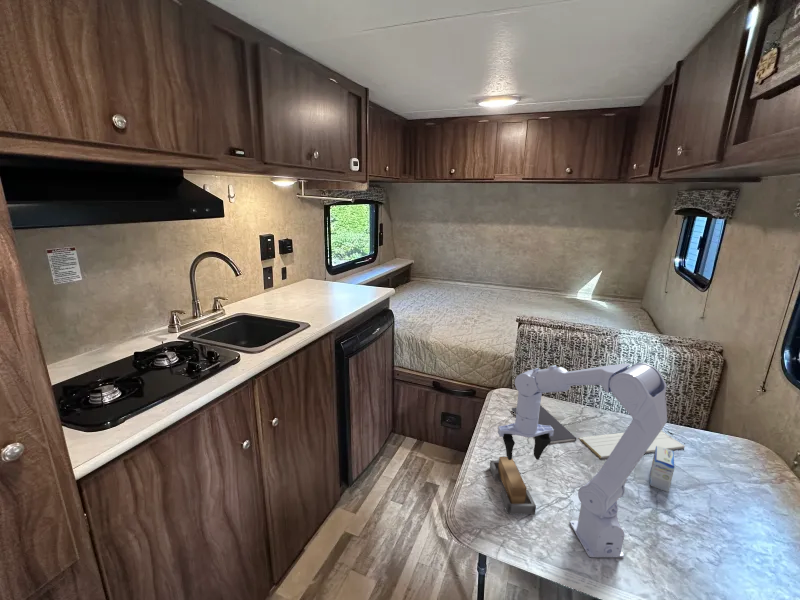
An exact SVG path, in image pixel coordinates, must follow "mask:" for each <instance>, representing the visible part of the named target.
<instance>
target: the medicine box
mask: <svg viewBox="0 0 800 600" xmlns="http://www.w3.org/2000/svg"><path fill="white" fill-rule="evenodd" d="M675 468H676V467H675V451H674V450H669V449H666V448H663V447H659V446H656V449H655V452H653V458H652V461H651V467H650V475H649V486H651V487H653V488H656V489H658V490H661V491H664V492H667V493H669V492H670V487H671V485H672V480H673V475H674V471H675Z"/></svg>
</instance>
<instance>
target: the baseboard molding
mask: <svg viewBox="0 0 800 600" xmlns="http://www.w3.org/2000/svg"><path fill="white" fill-rule="evenodd" d="M665 432H666V433H665ZM665 432H664V430H663V429H662V430H661V431H660V433H659V434H658V436H657V437H656V438H655V440H654V441H653V443H652V444H651V445H650V447H649V448H648V450H647V451H646V452H645V454H647V453H655V449H656V446H659V447H663V448H666V449H669V450H671V451H674V450H679V449H680V450H681V449H685V447H686V446H685V445H686V443H685V442H683V441H682V440H680V439H678V438H677V437H676V436H674V434H673V433H672V432H671V431H669V430H665ZM624 433H625V432H618V433H608V434H607V433H606V434H599V435H592V436H591V435H590V436H584V437H578V439H579V440H580V441H581V442H582V443H583V444H584V445H585V446H586V447H587V448H588V449H589V450H591V451H592V452H593V453H594V455H596V456H597V457H599V459H600V460H601V459H608V457H609V456H610V454H611V452H612V451H613V449H614V448H615V446H616V445H617V443H618V442H619V440H620V439H621V437H622V436H623V434H624ZM667 433H668V434H667ZM672 436H673V437H674V438H673V437H672ZM676 439H677V440H676ZM679 441H680V442H682V443H680V442H679Z"/></svg>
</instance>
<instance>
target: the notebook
mask: <svg viewBox="0 0 800 600" xmlns="http://www.w3.org/2000/svg"><path fill="white" fill-rule="evenodd" d="M516 410H517V407H512V408H511V412H512V411H513V412H514V413H513V412H512V413H513V415H514V416H515V415H516ZM538 424H540V425H545V426H551V427H552V428H553V429H554V433H553V436H549V438H550V439H551V442H550V444H557V443H563V442H564V443H565V442H572V441H573V442H574V441H577V437H576V436H575V435H574V434H573V433H571V432H570V431H569V430H568V429H567V428H566V427H565V426H564V425H563V424H562V423H561V422H559V420H557V419H556V417H554V416H553V415H552V414H551V413H550V412H549V411H548V410H547V409H545V408H544V407H543V406H542V405H541V404H540V411H539V420H538Z"/></svg>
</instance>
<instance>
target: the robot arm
mask: <svg viewBox="0 0 800 600" xmlns="http://www.w3.org/2000/svg"><path fill="white" fill-rule="evenodd" d="M514 385H515V388H516V390H517V391H518V394H517V402H516V408H517V410H516V416H515V421H514V423H508V424H505V425H498V426H497V434H498V435H499V437H501V438H502V440H503V442H504V446H505V450H506V451H505V452H506V453H505V454H506V457H508V460H511V459H513V450H514V446H515V444H516V442H515V440H514V436H519V437H523V438H524V437H525V438H534V446H533V447H534V448H533V456H534V458H535V461H538V460H539V461H540V458H541V456H542V454H543V453H544V450H545V449H546V448H547V447H548V446H549V445H550V444H551V443H550V442H551V439H550V438H549V436H553V433H554V429H553V428H552V427H551V426H545V425H540V424H538V420H539V411H540V405H541V403H542V395H543V394H544V393H547V394H548V393H557V392H558V393H559V392H561V393H562V392H567V391H569V389H570V388H571V387H572V386H601V388H602V389H603V390H604V391H605V392H606V393H607V394H609V393H612V395H613V396H614V398H615V399H616V400H617V402H619V404H620V405H621V406H622V407H623V408H624V409H625V410H626V412H627V413H628V414H629V415H630V416H631V418H632V420H631V422H630V423H629V425H628V426H627V428H626V430H625V431H624V432H623V433H624V434H623V436H622V437H621V439H620V440H619V442H618V443H617V445H616V446H615V448H614V449H613V451H612V452H611V454H610V456H609V457H608V458H606V460H605V462H604V464H603V465H602V466H601V468H600V469H599V470H598V471H597V473H596V474H595V475H594V476H593V477H592V478H591V479H590V480H589V481H588V482H587V483H585V484H584V485H581V486H580V487H579V489H578V491H577V496H578V500H579V502H580V508H579V513H578V519H577V520H576V519H575V520H572V519H571V520H569V525H570V526H571V528H572V529H573V531H574V533H575V535H576V537H577V539H578V540H579V541H580V543H581V545H582V547H583V549H584V551H585V552H586V554H587V556H588V557H589V558H624V557H625V553H623V550H622V549H623V544H624V539H625V532H624V530H623V528H622V526H621V523H620V521H619V518H618V500H619V499H620V498H622V497H623V496H624V495H625V492H626V490H625V489H626V488H625V486H626V483H627V481H628V478H629V476H630V475H631V473H632V472H633V470H634V469H635V468H636V467H637V465H638V464H639V462H640V461H641V460H642V458H643V456H644V455H645V454H646V453H645V452H646V451H647V450H648V448H649V447H650V445H651V444H652V443H653V441H654V440H655V438H656V437H657V436H658V434H659V433H660V431H661V430H662V431H663V429H664V427H665V426H666V424H667V421H668V413H667V401H666V392H667V391H666V390H667V387H668V385H667V383H666V381H665V380H664V377H663V376H662V374H661V373H660V371H659V370H658V369H657V368H656V367H654V366H653V365H652V364H649V363H645V362H638V363H637V362H636V363H635V364H633V365H632V363H619V364H609V365H603V366H597V367H590V368H589V367H588V368H582V369H577V370H570V371H568V370H567V369H566V368H565V367H563V366H559V367H557V365H556V364H555V365H550V366H548V368H544V369H543V368H542V369H539V367H537V368H532V369H529V370H527V371H525V372H523V373H520V374H518V375H516V377H515V380H514Z"/></svg>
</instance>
